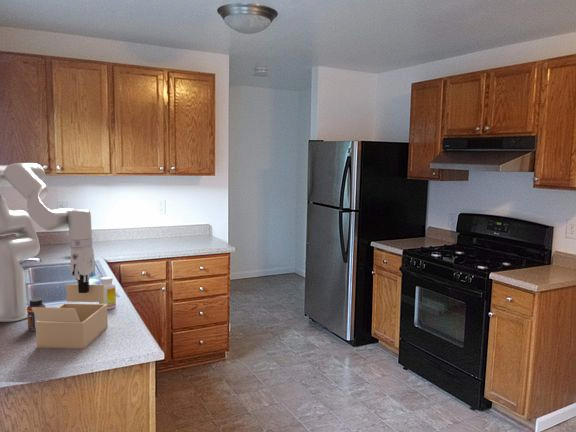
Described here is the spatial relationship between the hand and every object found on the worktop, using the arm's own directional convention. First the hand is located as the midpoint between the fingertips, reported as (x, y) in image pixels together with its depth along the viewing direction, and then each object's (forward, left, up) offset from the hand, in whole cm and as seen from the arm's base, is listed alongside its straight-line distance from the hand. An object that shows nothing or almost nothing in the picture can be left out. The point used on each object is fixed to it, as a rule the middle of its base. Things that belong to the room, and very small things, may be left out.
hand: (83, 292), depth 173 cm
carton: (0, -8, -14) cm, 16 cm away
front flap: (0, -20, -2) cm, 20 cm away
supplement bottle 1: (-17, -1, -14) cm, 22 cm away
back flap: (0, +2, -1) cm, 2 cm away
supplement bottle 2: (-1, +25, -14) cm, 29 cm away
